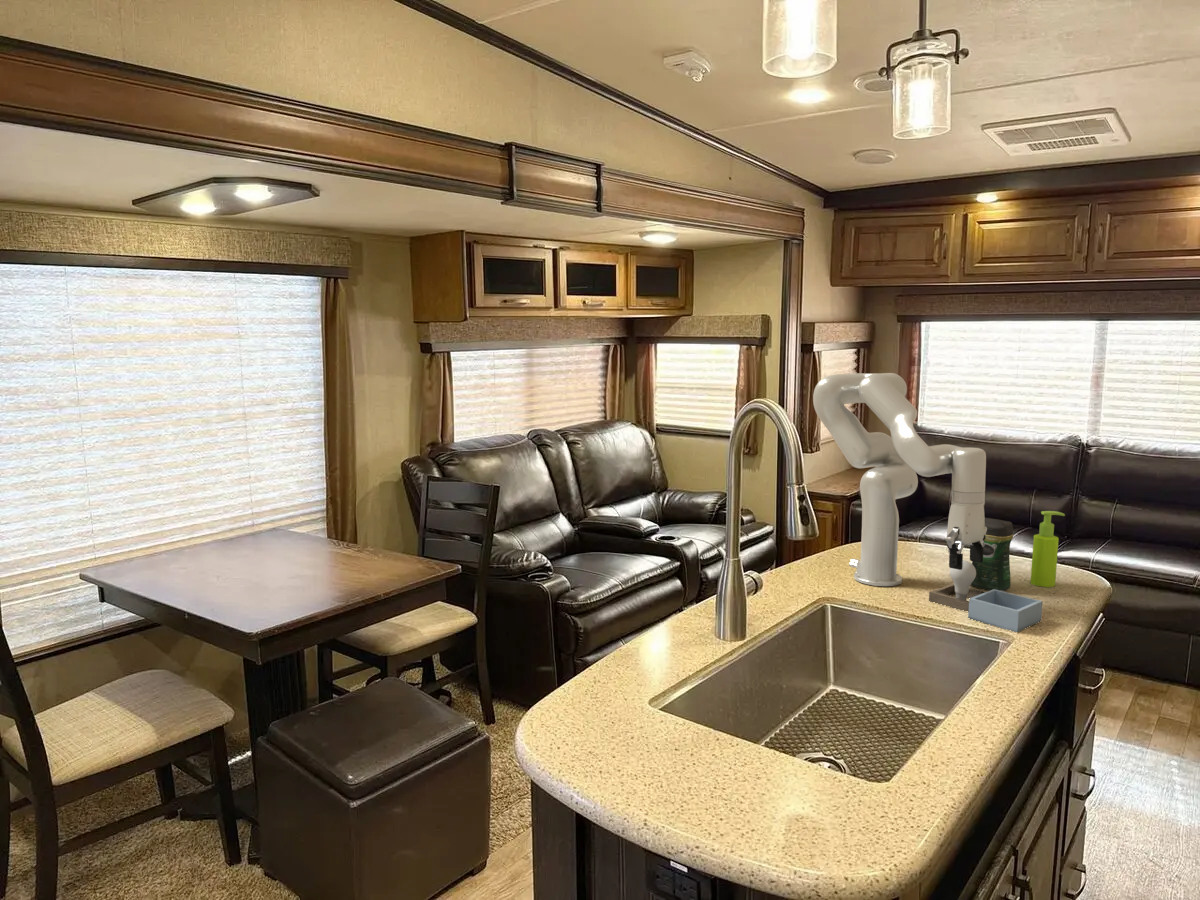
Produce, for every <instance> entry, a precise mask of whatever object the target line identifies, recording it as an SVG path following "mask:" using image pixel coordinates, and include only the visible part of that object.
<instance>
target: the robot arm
mask: <svg viewBox="0 0 1200 900" xmlns="http://www.w3.org/2000/svg"><path fill="white" fill-rule="evenodd" d="M907 386H908V385H907V383H906V381H905V380H904V378H903V377H901V376H900V375H899V374H897V373H894V372H883V373H882V372H881V373H878V372H876V373H875V372H874V373H866V372H865V373H861V372H860V373H843V374H841V373H840V374H832V375H828V376H825V377H823V378H821V379H820V380H819V381H817V384H816V385H815V387H814V389H813V394H812V395H813V397H812V402H813V408H814V411H815V414H816V415H817V417H818V418H819V420H820V421H821V423H822V424H823V425H824V427H825V428H826V429H827V431H828V432H829V434H830V435H831V436H832V438H833V440H834V442H835V443H836V445H837V446H838V448H839V449H840V451H841V453H842V455H843V456H844V457H845V459H846V461H847V462H848V463H849V464H850V465H851V466H852V467H853V468H855V469H866V468H870V469H869V470H866V471H865V473H863V475H862V477H861V478H860V482H859V493H860V498H861V510H862V511H861V539H860V540H861V541H860V542H861V543H860V559H857V558H851V559H850V562H849V567H851V568H855V569H856V571H855V572H854V574H853V578H854V580H855V581H857V582H858V583H862V584H865V585H868V586H873V587H894V586H895V587H896V586H899V585H901V584H902V582H903V577H902V576H901V575H900V574H898V573H897V570H898V568H897V567H898V549H899V546H898V545H899V526H900V525H899V524H900V517H899V516H900V515H899V510H898V507H897V504H896V500H898V499H903V498H906V497H909V496H911V495H913V494H914V493H915V492H916V491H917V489H918V484H919V479H918V475H919V476H921V477H925V478H931V477H935V476H940V475H941V476H942V475H945V474H947V475H948V474H951V505H950V509H949V513H948V520H947V530H946V538H945V540H946V541H945V542H946V547H947V549H948V550H947V552H948V555H949V557H948V560H949V561H948V567H949V569H950V568H953V569H958V570H961V569H962V567H963V560H964V554H963V553H962V552H963V549H964V547H965V546H968V545H969V562H972V561H974V562H979V563H982V562H983V547H984V540H985V538H986V536H985V535H986V531H987V527H985V518H986V517H985V504H986V501H985V499H986V497H985V496H986V495H985V494H986V473H987V472H986V471H987V470H986V469H987V454H986V451H985V450H984V449H982V448H980V447H969V446H968V447H961V446H959V445H958V446H957V445H953V444H949V443H947V444H942V443H941V444H937V445H930V446H929V444H927V443H926V442H925V441H924V440H923V439H922V438H921V437H920V436H919V434H918V432H917V431H916V429H915V428H914V421H915V420H916V418H918V417H917V416H918V410H917V407H916V408H915V406H914V405H913V404H912V403H911V402H910V401H909V400H908V399H907V398H906V395H907V391H908V387H907ZM863 403H865V404H866V406H868V408H869V409H870V411H872V412H873V413H874V414H875V415H876V417H877V418H878V419H879V420H880V421H881V422H882V423H883V425H884V426H885V427H886V428H887V429H888V430H889V431H890V435H888V434H887V433H884V432H881V431H876V432H875V431H874V432H873V431H872V432H868V431H867V429H866V428H865V427H864V425H862V423H861V422H860V419H859V418H858V417H857V416H856V415H855V414H854V413H853V411H851V410H850V409H849V408H847V407H846V405H850V404H863ZM917 474H918V475H917Z"/></svg>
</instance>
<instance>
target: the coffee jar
mask: <svg viewBox="0 0 1200 900" xmlns="http://www.w3.org/2000/svg"><path fill="white" fill-rule="evenodd" d="M985 527H987V531H986V535H985V536H986V538H985V540H984V547H983V562H982V563H979V562H974V561H971V563H972V564H973V566H974V567H975V569H976V577H975V579H974V580H973V582H972V583H971V585H970V586H973V587H975V588H979V589H983V590H986V589H987V590H986V591H990V590H993V589H996V590H1000V591H1004V592H1006V591H1007V590H1009V589H1010V587H1011V581H1012V580H1011V566H1010V565H1011V564H1010V562H1011V561H1010V549H1011V542H1012V541H1013V538H1014V527H1013V523H1012V522H1011V521H1007V520H1002V519H997V518H991V517H985Z"/></svg>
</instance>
